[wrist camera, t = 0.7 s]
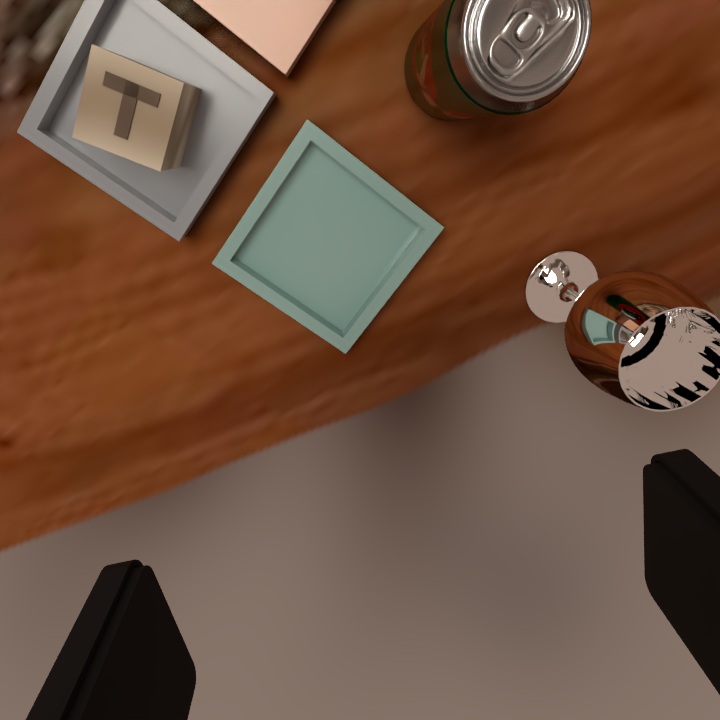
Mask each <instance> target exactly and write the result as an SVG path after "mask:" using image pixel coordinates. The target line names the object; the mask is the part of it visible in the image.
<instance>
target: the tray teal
mask: <svg viewBox="0 0 720 720" xmlns="http://www.w3.org/2000/svg"><path fill="white" fill-rule="evenodd" d="M443 229H444V227H443V226H442V225H440V224H439V223H438V222H437V221H435V220H434V219H433V218H432V217H430V216H429V215H428V214H426V213H425V212H424V211H423V210H421V209H420V208H419V207H418V206H416V205H415V204H414V203H413V202H411V201H410V200H409V199H408V198H406V197H405V196H404V195H402V194H401V193H400V192H399V191H397V190H396V189H395V188H394V187H392V186H391V185H390V184H389V183H387V182H386V181H385V180H384V179H382V178H381V177H380V176H378V175H377V174H376V173H375V172H373V171H372V170H371V169H370V168H368V167H367V166H366V165H365V164H363V163H362V162H361V161H360V160H358V159H357V158H356V157H354V156H353V155H352V154H351V153H349V152H348V151H347V150H346V149H344V148H343V147H342V146H341V145H339V144H338V143H337V142H336V141H334V140H333V139H332V138H330V137H329V136H328V135H327V134H325V133H324V132H323V131H322V130H320V129H319V128H318V127H317V126H315V125H314V124H313V123H312V122H310V121H309V120H308V119H307V121H306V122H305V124H304V125H303V127H302V128H301V130H300V131H299V133H298V134H297V136H296V137H295V139H294V140H293V142H292V143H291V145H290V146H289V148H288V149H287V151H286V152H285V154H284V155H283V157H282V158H281V160H280V161H279V163H278V164H277V166H276V167H275V169H274V170H273V172H272V173H271V175H270V176H269V178H268V179H267V181H266V182H265V184H264V185H263V187H262V188H261V190H260V191H259V193H258V194H257V196H256V197H255V199H254V200H253V202H252V203H251V205H250V206H249V208H248V209H247V211H246V212H245V214H244V215H243V217H242V219H241V220H240V222H239V223H238V225H237V226H236V228H235V229H234V231H233V232H232V234H231V235H230V237H229V238H228V240H227V241H226V243H225V244H224V246H223V247H222V249H221V250H220V252H219V253H218V255H217V256H216V258H215V259H214V261H213V262H212V264H213V265H215V266H216V267H218V268H219V269H221V270H222V271H224V272H225V273H227V274H228V275H229V276H231V277H232V278H234V279H235V280H237V281H238V282H240V283H241V284H243V285H244V286H246V287H247V288H249V289H250V290H252V291H253V292H255V293H256V294H258V295H259V296H261V297H262V298H264V299H265V300H267V301H268V302H269V303H271V304H272V305H274V306H275V307H277V308H278V309H280V310H281V311H283V312H284V313H286V314H287V315H289V316H290V317H292V318H293V319H295V320H296V321H298V322H299V323H301V324H302V325H304V326H305V327H307V328H308V329H310V330H311V331H312V332H314V333H315V334H317V335H318V336H320V337H321V338H323V339H324V340H326V341H327V342H329V343H330V344H332V345H333V346H335V347H336V348H338V349H339V350H341V351H342V352H344V353H345V354H346V353H347V352H348V350H349V349H350V348H351V346H352V345H353V344H354V343H355V341H356V340H357V339H358V338H359V336H360V335H361V334H362V332H363V331H364V330H365V329H366V327H367V326H368V325H369V323H370V322H371V321H372V320H373V318H374V317H375V316H376V314H377V313H378V312H379V311H380V309H381V308H382V307H383V305H384V304H385V303H386V302H387V300H388V299H389V298H390V297H391V295H392V294H393V293H394V291H395V290H396V289H397V288H398V286H399V285H400V284H401V282H402V281H403V280H404V279H405V277H406V276H407V275H408V273H409V272H410V271H411V270H412V268H413V267H414V266H415V264H416V263H417V262H418V261H419V259H420V258H421V257H422V255H423V254H424V253H425V252H426V250H427V249H428V248H429V247H430V245H431V244H432V243H433V241H434V240H435V239H436V238H437V236H438V235H439V234H440V232H441V231H442V230H443Z"/></svg>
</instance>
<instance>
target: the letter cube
mask: <svg viewBox="0 0 720 720" xmlns="http://www.w3.org/2000/svg"><path fill="white" fill-rule="evenodd" d="M201 90H202V89H200V88H198V87H195V86H193V85H191V84H188V83H186V82H183V81H181V80H179V79H176V78H174V77H172V76H169V75H167V74H165V73H162V72H160V71H158V70H155V69H153V68H150V67H148V66H146V65H143V64H141V63H139V62H136V61H134V60H132V59H129V58H127V57H125V56H122V55H120V54H117V53H114V52H112V51H109V50H106V49H104V48H101V47H98V46H96V45H93V44H92V45H91V50H90V54H89V59H88V64H87V68H86V73H85V78H84V83H83V87H82V92H81V97H80V102H79V106H78V111H77V116H76V120H75V125H74V130H73V135H72V137H73V138H75V139H78V140H80V141H83V142H86V143H88V144H91V145H93V146H96V147H98V148H101V149H104V150H106V151H109V152H111V153H114V154H116V155H119V156H121V157H124V158H127V159H129V160H132V161H134V162H137V163H139V164H142V165H144V166H147V167H150V168H152V169H155V170H157V171H160V172H161V171H165V170H169V169H173V168H177V167H180V166H181V162H182V159H183V155H184V151H185V148H186V144H187V141H188V137H189V133H190V130H191V126H192V123H193V119H194V115H195V112H196V108H197V105H198V101H199V97H200V94H201Z"/></svg>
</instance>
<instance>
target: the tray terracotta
mask: <svg viewBox="0 0 720 720" xmlns="http://www.w3.org/2000/svg"><path fill="white" fill-rule="evenodd" d="M192 1H193V2H194V3H195V4H197V5H198V6H199V7H200V8H202V9H203V10H204V11H205V12H206V13H208V14H209V15H210V16H211V17H213V18H214V19H215V20H216V21H218V22H219V23H220V24H221V25H223V26H224V27H225V28H226V29H228V30H229V31H230V32H231V33H233V34H234V35H235V36H236V37H238V38H239V39H240V40H241V41H242V42H244V43H245V44H246V45H247V46H249V47H250V48H251V49H252V50H254V51H255V52H256V53H257V54H259V55H260V56H261V57H262V58H264V59H265V60H266V61H267V62H269V63H270V64H271V65H272V66H273V67H275V68H276V69H277V70H278V71H280V72H281V73H282V74H283V75H285V76H286V77H287V78H288V76H289V75H290V73H291V72H292V70H293V68H294V67H295V65H296V64H297V62H298V61H299V59H300V57H301V56H302V54H303V53H304V51H305V50H306V48H307V47H308V45H309V43H310V42H311V40H312V39H313V37H314V36H315V34H316V32H317V31H318V29H319V28H320V26H321V25H322V23H323V21H324V20H325V18H326V17H327V15H328V14H329V12H330V11H331V9H332V7H333V6H334V4H335V3H336V1H337V0H192Z"/></svg>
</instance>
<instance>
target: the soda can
mask: <svg viewBox="0 0 720 720" xmlns="http://www.w3.org/2000/svg"><path fill="white" fill-rule="evenodd" d="M591 23H592V19H591V7H590V1H589V0H444V1H443V2H442V3H441V5H440V6H439V7H438V8H437V9H436V10H435V11H434V12H433V13H432V14H431V15H430V16H429V18H428V19H427V20H426V21H425V22H424V23H423V24H422V25H421V26H420V28H419V29H418V30H417V31H416V33H415V34H414V36H413V38H412V39H411V42H410V44H409V46H408V50H407V53H406V58H405V78H406V83H407V86H408V89H409V92H410V94H411V96H412V98H413V99H414V100H415V102H416V103H417V105H418V106H419V107H420V108H421V109H422V110H424V111H425V112H426V113H428V114H429V115H431V116H433V117H435V118H439V119H442V120H463V119H475V118H486V117H497V116H508V115H519V114H523V113H528V112H531V111H533V110H536V109H538V108H540V107H542V106H544V105H546V104H547V103H549V102H550V101H552V100H553V99H554V98H555V97H557V96H558V95H559V94H560V93H561V92H562V91H563V90H564V89H565V88H566V87H567V85H568V84H569V83H570V81H571V80H572V78H573V77H574V76H575V74H576V72H577V70H578V68H579V66H580V64H581V62H582V59H583V57H584V54H585V51H586V49H587V46H588V42H589V38H590V34H591Z"/></svg>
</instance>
